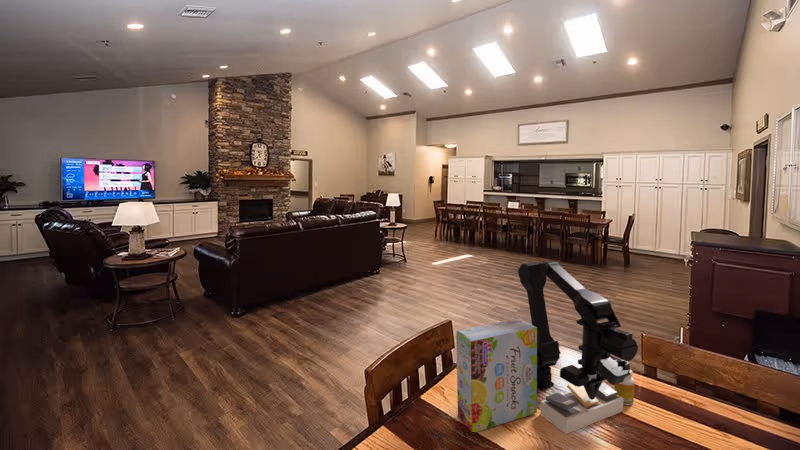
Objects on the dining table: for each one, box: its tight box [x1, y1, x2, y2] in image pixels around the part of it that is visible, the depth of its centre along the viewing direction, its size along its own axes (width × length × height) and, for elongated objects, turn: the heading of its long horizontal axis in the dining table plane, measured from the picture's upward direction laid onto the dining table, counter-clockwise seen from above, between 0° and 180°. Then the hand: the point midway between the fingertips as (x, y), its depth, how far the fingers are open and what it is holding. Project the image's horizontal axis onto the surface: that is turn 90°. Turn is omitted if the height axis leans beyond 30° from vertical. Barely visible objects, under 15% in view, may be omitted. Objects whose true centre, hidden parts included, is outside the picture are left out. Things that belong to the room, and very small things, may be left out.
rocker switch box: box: [539, 390, 624, 435], centre depth 105 cm, size 9×22×4 cm, turn 114°
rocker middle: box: [566, 383, 598, 407], centre depth 105 cm, size 7×4×1 cm, turn 25°
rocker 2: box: [598, 381, 617, 399], centre depth 108 cm, size 7×4×1 cm, turn 25°
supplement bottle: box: [612, 368, 635, 406], centre depth 111 cm, size 5×5×10 cm
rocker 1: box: [545, 392, 578, 410], centre depth 102 cm, size 7×4×1 cm, turn 24°
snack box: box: [455, 318, 538, 433], centre depth 104 cm, size 22×9×26 cm, turn 111°
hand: (591, 398), depth 102 cm, fingers closed
